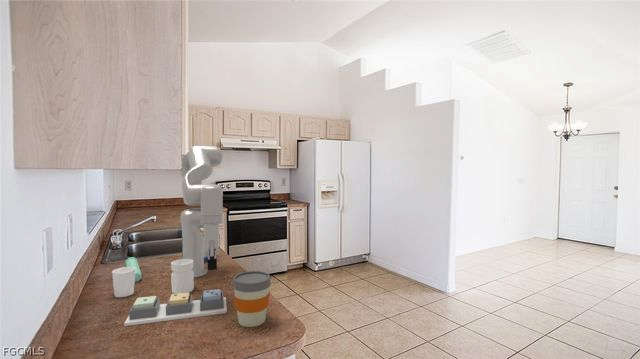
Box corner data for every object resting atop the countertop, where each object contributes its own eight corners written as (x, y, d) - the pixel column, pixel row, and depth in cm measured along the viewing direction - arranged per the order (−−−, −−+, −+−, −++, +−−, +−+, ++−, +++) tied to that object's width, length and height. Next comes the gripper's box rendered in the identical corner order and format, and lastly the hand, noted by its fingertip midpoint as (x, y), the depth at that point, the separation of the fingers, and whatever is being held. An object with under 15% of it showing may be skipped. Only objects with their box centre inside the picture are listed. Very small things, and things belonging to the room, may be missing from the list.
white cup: (117, 291, 131) (117, 267, 131) (138, 289, 133) (138, 266, 133) (109, 298, 124) (108, 273, 123) (131, 297, 125) (130, 272, 125)
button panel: (133, 310, 114) (133, 299, 114) (225, 299, 124) (225, 289, 124) (124, 326, 103) (124, 314, 103) (226, 312, 113) (226, 301, 113)
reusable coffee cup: (238, 333, 99) (238, 286, 99) (229, 316, 110) (228, 274, 110) (275, 324, 105) (276, 279, 105) (263, 309, 116) (263, 268, 116)
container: (140, 268, 142) (134, 254, 162) (125, 276, 139) (122, 260, 159) (145, 279, 143) (140, 264, 164) (131, 287, 140) (127, 270, 161)
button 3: (203, 297, 119) (203, 290, 119) (220, 295, 121) (220, 288, 121) (203, 304, 113) (203, 296, 113) (220, 301, 115) (220, 294, 115)
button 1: (137, 304, 112) (137, 297, 112) (156, 302, 114) (156, 295, 114) (133, 312, 106) (133, 304, 106) (153, 309, 108) (153, 302, 108)
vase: (195, 285, 139) (195, 258, 138) (192, 293, 130) (191, 264, 130) (173, 286, 137) (173, 259, 136) (169, 295, 128) (168, 265, 128)
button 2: (171, 300, 115) (171, 294, 115) (189, 298, 117) (189, 292, 117) (169, 307, 110) (169, 300, 110) (188, 305, 112) (188, 298, 112)
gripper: (201, 217, 122) (202, 264, 122) (199, 223, 107) (200, 276, 108) (222, 216, 124) (222, 262, 124) (223, 222, 110) (223, 274, 110)
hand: (212, 269), depth 116 cm, fingers closed
